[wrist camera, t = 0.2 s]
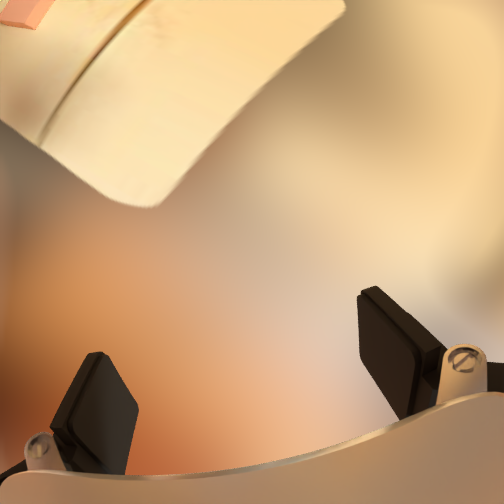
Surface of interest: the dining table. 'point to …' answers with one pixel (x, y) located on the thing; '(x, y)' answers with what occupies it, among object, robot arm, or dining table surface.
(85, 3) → the dining table surface
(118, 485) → the robot arm
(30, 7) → the block
